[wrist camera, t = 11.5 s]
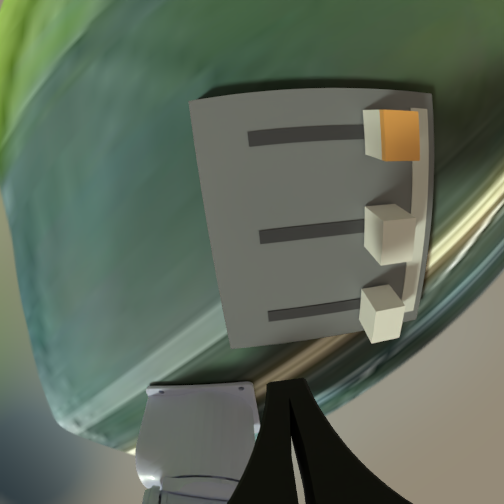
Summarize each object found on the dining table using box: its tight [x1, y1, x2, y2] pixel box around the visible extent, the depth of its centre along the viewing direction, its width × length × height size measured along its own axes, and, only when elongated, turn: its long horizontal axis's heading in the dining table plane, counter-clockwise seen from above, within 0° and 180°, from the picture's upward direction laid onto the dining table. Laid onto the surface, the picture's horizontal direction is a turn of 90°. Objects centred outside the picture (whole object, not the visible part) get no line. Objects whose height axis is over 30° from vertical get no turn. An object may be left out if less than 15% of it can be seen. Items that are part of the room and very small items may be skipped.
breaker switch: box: [363, 110, 420, 161], centre depth 14 cm, size 2×2×3 cm
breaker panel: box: [189, 88, 434, 349], centre depth 17 cm, size 14×16×4 cm
